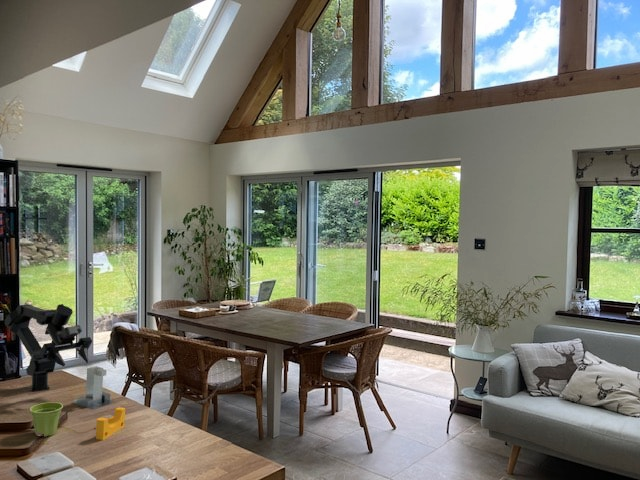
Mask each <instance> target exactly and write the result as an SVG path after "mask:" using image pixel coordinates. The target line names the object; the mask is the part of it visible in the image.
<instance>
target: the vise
mask: <svg viewBox="0 0 640 480" xmlns="http://www.w3.org/2000/svg"><path fill="white" fill-rule="evenodd" d="M93 400H94V399H91V398H88V397H86V396H84V395H82V396H79V397H77V398H74V399H73V401H72V402H71V404H74V405H77V406H80V407H83V408H86V409H90V410H91V411H92V410H96V409H98V408H103V407H105V406H108V405H112V404H114V403H116V401H115V400H114V401H113V400H111V394H110V393H108V392H104V391H102V402H100V403H97V404H94V405H93Z"/></svg>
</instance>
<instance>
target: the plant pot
mask: <svg viewBox="0 0 640 480" xmlns="http://www.w3.org/2000/svg"><path fill="white" fill-rule="evenodd" d="M63 408H64V405H63V404H62V403H61V402H53V401H50V402H41V403H39V404H35V405H33V406H31V407H30V408H29V412H30V413H31V416H32V421H33V430H34V433H35V432H38V433H43V434H44V437H43V438H46V437H47V436H50V437H51V436H53V435H55V434H56V433H57V430H58V425H59V420H60V415H61V412H62V409H63Z"/></svg>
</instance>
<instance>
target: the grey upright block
mask: <svg viewBox="0 0 640 480" xmlns="http://www.w3.org/2000/svg"><path fill="white" fill-rule="evenodd" d="M105 376H107V369H104V367H100V366H95V365H94V366H93V367H87V368H86V385H85V397H88V398H91V399H94V400H93V405H94V404H97V403H100V402H102V392H103V387H104V386H103V383H104V382H103V381H104V377H105Z"/></svg>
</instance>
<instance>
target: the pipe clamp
mask: <svg viewBox="0 0 640 480" xmlns="http://www.w3.org/2000/svg"><path fill="white" fill-rule="evenodd" d="M125 421H126V408H125V407H116V408H115V409H114V414H113V416H111V417H110V418H106V417H99V418H97V419H96V430H95V440H100V441H104V440H106V439H107V438H109V437H110V436H112V435H114V434H115V433H116V432H118V431H120V430H122V429H123V428H124V427H125V426H126V425H125V423H126V422H125Z"/></svg>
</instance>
